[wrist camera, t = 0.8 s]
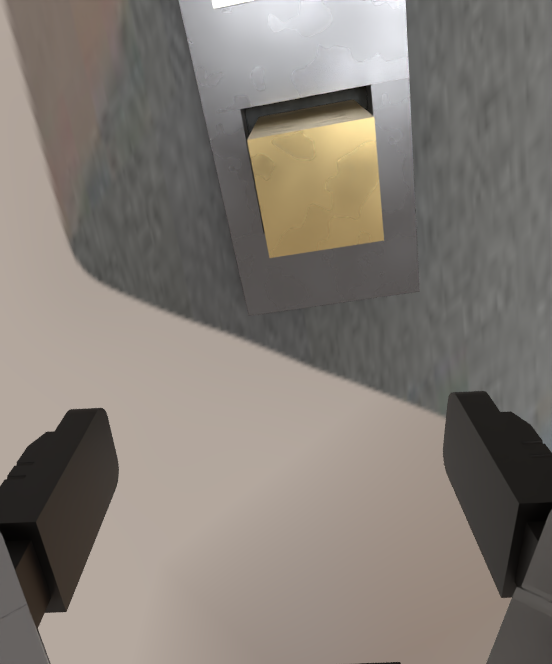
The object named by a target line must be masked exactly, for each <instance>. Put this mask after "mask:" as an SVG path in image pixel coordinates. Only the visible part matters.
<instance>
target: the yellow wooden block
mask: <svg viewBox="0 0 552 664" xmlns="http://www.w3.org/2000/svg"><path fill="white" fill-rule="evenodd" d="M247 142H248V147H249V153H250V158H251V163H252V168H253V174H254V179H255V184H256V189H257V195H258V200H259V205H260V210H261V216H262V221H263V226H264V232H265V237H266V242H267V247H268V253H269V258H274V257H280V256H287V255H293V254H300V253H306V252H313V251H319V250H326V249H332V248H339V247H345V246H351V245H358V244H364V243H371V242H377V241H384V233H383V221H382V208H381V195H380V183H379V170H378V157H377V145H376V132H375V119H374V116H373V115H371V114H370V113H369V112H368V111H367V110H365V109H364V108H363V107H362V106H361V105H359V104H358V103H357V102H356V101H355V100H348V101H343V102H337V103H332V104H326V105H321V106H316V107H310V108H305V109H299V110H294V111H289V112H283V113H278V114H272V115H267V116H261V117H259V118H258V120H257V122H256V124H255V126H254V128H253V130H252V131H251V133H250V135H249V137H248V139H247Z"/></svg>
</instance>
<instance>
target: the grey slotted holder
mask: <svg viewBox="0 0 552 664" xmlns="http://www.w3.org/2000/svg"><path fill="white" fill-rule="evenodd" d="M179 4H180V8H181V13H182V17H183V22H184V26H185V31H186V35H187V40H188V44H189V49H190V53H191V58H192V62H193V67H194V71H195V76H196V80H197V85H198V89H199V94H200V98H201V103H202V107H203V112H204V116H205V121H206V126H207V130H208V135H209V139H210V144H211V148H212V153H213V157H214V162H215V166H216V171H217V175H218V180H219V184H220V189H221V193H222V198H223V202H224V207H225V211H226V216H227V220H228V225H229V229H230V234H231V238H232V243H233V247H234V252H235V256H236V261H237V265H238V270H239V274H240V279H241V283H242V288H243V292H244V297H245V301H246V306H247V310H248V315H249V316H251V315H258V314H265V313H272V312H279V311H286V310H293V309H300V308H307V307H314V306H321V305H328V304H335V303H342V302H349V301H356V300H363V299H370V298H377V297H384V296H391V295H398V294H405V293H412V292H419V272H418V252H417V231H416V210H415V189H414V168H413V148H412V127H411V106H410V85H409V64H408V43H407V23H406V2H405V0H179ZM361 86H366V90H367V102H368V112H369V113H370V114H371V115H373V116H374V119H375V132H376V145H377V157H378V170H379V183H380V195H381V208H382V221H383V233H384V241H377V242H371V243H364V244H358V245H351V246H345V247H339V248H332V249H326V250H319V251H313V252H306V253H300V254H293V255H287V256H280V257H274V258H269V253H268V247H267V242H266V237H265V232H264V226H263V221H262V216H261V210H260V205H259V200H258V195H257V189H256V184H255V179H254V174H253V168H252V163H251V158H250V153H249V147H248V142H247V139H248V137H249V133H248V127H247V122H246V117H245V111H244V108H249V107H254V106H259V105H265V104H270V103H275V102H281V101H286V100H291V99H297V98H302V97H307V96H313V95H318V94H323V93H329V92H334V91H339V90H345V89H350V88H355V87H361Z"/></svg>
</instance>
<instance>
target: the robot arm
mask: <svg viewBox="0 0 552 664" xmlns="http://www.w3.org/2000/svg"><path fill="white" fill-rule="evenodd" d="M443 457H444V465H445V469H446V473H447V475H448V478H449V480H450V482H451V485H452V487H453V489H454V491H455V494H456V496H457V498H458V500H459V502H460V505H461V507H462V509H463V512H464V514H465V516H466V519H467V521H468V523H469V525H470V528H471V530H472V532H473V535H474V537H475V539H476V541H477V544H478V546H479V548H480V550H481V552H482V555H483V557H484V560H485V562H486V564H487V566H488V569H489V571H490V573H491V575H492V578H493V580H494V582H495V585H496V587H497V589H498V591H499V594H500V596H501V598H507V597H512V599H511V602H510V604H509V607H508V610H507V612H506V615H505V617H504V620H503V622H502V625H501V627H500V630H499V632H498V635H497V638H496V640H495V643H494V645H493V648H492V650H491V653H490V655H489V658H488V661H487V663H486V664H552V453H551V451H550V450H549V449H548V447H547V446H546V445H545V444H543V443H542V439H541V438H540V437H539V435H538V434H537V433H536V431H535V430H534V429H533V427H532V426H531V425H530V424H529V423H527V422H526V421H524V420H523V419H521V418H520V417H518V416H517V415H515V414H514V413H512V412H500V411H499V409H498V408H497V407H496V405H495V404H494V402H493V401H492V399H491V398H490V396H489V395H488V394H487V393H486V392H485V391H474V392H453V393H451V394H450V395H449V398H448V404H447V414H446V424H445V434H444V444H443ZM118 474H119V467H118V459H117V455H116V450H115V446H114V442H113V437H112V433H111V429H110V425H109V420H108V416H107V413H106V411H105V410H104V409H103V408H91V409H71V410H69V411H68V412H67V413H66V414H65V416H64V418H63V419H62V421H61V422H60V424H59V425H58V427H57V429H56V430H55V432H46V433H45V434H43V435H42V436H41V437H39V438H38V439H37V440H35V441H34V442H33V443H32V444H30V445H29V446H28V447H27V448H26V450H25V451H24V453H23V454H22V456H21V457H20V459H19V460H18V461H17V466H14V467H13V469H12V470H11V472H10V473H9V475H8V477H7V479H6V480H4V482H3V483H2V485H1V486H0V664H50V661H49V658H48V656H47V653H46V650H45V647H44V644H43V642H42V639H41V636H40V634H39V631H38V626H39V624H40V622H41V619H42V617H43V615H44V613H50V612H66V611H67V609H68V606H69V604H70V601H71V599H72V597H73V594H74V592H75V589H76V587H77V584H78V582H79V579H80V576H81V574H82V572H83V569H84V567H85V564H86V562H87V559H88V556H89V554H90V552H91V549H92V547H93V544H94V542H95V539H96V537H97V534H98V531H99V529H100V527H101V524H102V521H103V519H104V517H105V514H106V511H107V509H108V507H109V504H110V502H111V499H112V497H113V494H114V492H115V489H116V486H117V482H118ZM362 664H401V663H400V662H393V663H392V662H391V663H362Z"/></svg>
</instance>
